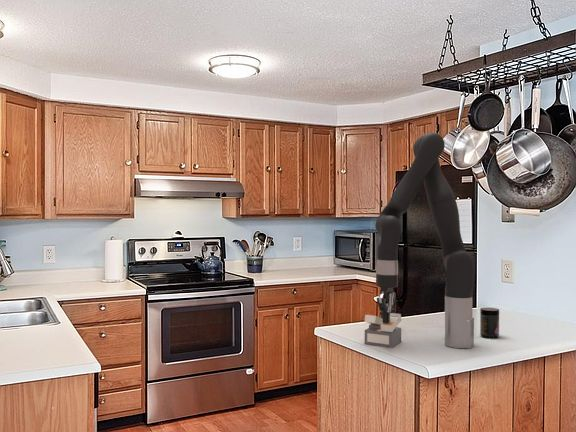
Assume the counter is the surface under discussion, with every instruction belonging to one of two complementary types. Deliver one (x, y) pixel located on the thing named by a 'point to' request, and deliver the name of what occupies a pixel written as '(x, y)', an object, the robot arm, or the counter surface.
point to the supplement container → (489, 323)
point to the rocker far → (373, 319)
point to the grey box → (382, 336)
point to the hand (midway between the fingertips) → (386, 322)
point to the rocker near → (391, 323)
